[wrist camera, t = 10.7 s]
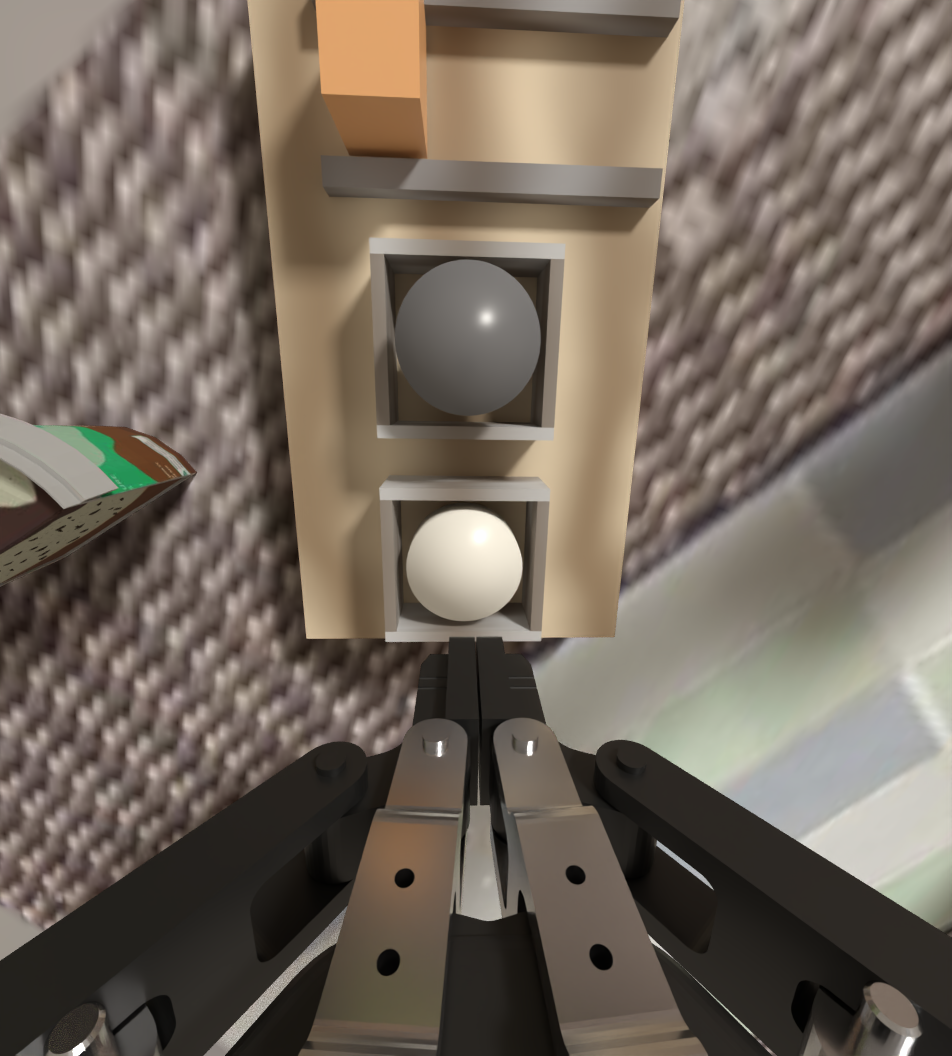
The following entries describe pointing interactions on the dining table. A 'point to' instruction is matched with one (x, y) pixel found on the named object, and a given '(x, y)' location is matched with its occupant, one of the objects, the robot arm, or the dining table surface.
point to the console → (470, 234)
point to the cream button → (464, 562)
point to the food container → (73, 487)
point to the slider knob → (375, 74)
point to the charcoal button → (467, 337)
